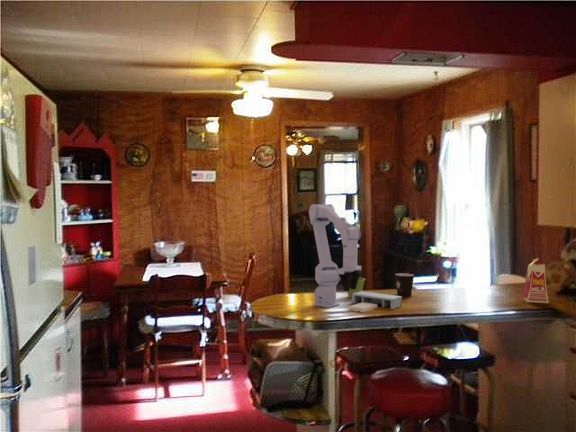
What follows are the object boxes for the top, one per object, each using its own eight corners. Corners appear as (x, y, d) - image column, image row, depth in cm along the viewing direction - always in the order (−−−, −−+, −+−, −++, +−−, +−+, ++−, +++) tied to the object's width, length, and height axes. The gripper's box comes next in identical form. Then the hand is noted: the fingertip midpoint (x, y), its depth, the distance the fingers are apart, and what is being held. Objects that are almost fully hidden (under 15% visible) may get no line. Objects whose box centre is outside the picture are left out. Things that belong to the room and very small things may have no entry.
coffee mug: (415, 297, 267) (415, 276, 266) (396, 297, 267) (397, 275, 266) (410, 293, 278) (410, 272, 278) (392, 292, 279) (392, 272, 278)
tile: (363, 313, 233) (363, 308, 233) (348, 311, 238) (348, 306, 238) (377, 308, 243) (377, 304, 243) (362, 306, 247) (362, 302, 247)
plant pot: (358, 300, 259) (358, 281, 259) (340, 297, 265) (341, 279, 265) (368, 297, 267) (369, 278, 266) (351, 294, 272) (351, 276, 272)
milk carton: (548, 303, 256) (550, 258, 255) (526, 302, 258) (528, 258, 257) (543, 299, 265) (545, 256, 264) (522, 298, 266) (523, 255, 266)
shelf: (393, 309, 240) (393, 299, 240) (352, 303, 252) (352, 293, 252) (401, 306, 247) (401, 296, 246) (361, 300, 259) (361, 291, 259)
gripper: (349, 259, 222) (348, 293, 223) (367, 255, 234) (367, 288, 235) (334, 257, 227) (333, 291, 227) (353, 254, 238) (352, 286, 239)
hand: (349, 290), depth 231 cm, fingers open, 4 cm apart
